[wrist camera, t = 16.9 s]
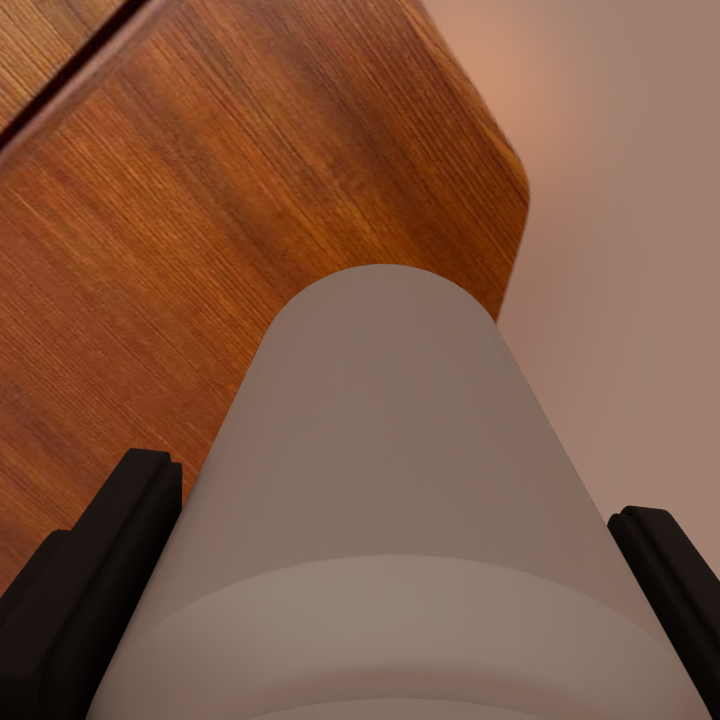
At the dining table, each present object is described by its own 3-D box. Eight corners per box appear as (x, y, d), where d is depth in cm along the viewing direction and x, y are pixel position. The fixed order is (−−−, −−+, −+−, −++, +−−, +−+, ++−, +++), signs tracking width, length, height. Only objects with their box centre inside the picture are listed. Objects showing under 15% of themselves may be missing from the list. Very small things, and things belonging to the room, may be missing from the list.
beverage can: (554, 329, 15) (1019, 900, 4) (425, 514, 18) (515, 1204, 7) (327, 208, 14) (175, 551, 3) (221, 421, 17) (-83, 1054, 6)
